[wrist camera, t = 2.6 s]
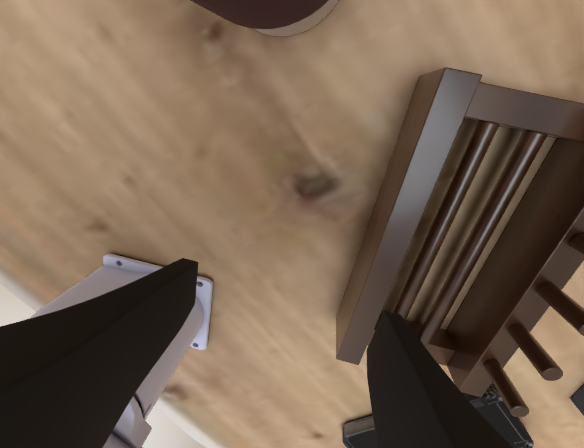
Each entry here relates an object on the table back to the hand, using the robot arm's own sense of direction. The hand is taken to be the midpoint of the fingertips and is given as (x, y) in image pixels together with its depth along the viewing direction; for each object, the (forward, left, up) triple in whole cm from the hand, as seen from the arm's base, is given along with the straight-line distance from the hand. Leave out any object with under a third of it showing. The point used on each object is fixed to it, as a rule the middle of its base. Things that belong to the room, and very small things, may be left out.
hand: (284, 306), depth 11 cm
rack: (+9, +1, -10) cm, 14 cm away
